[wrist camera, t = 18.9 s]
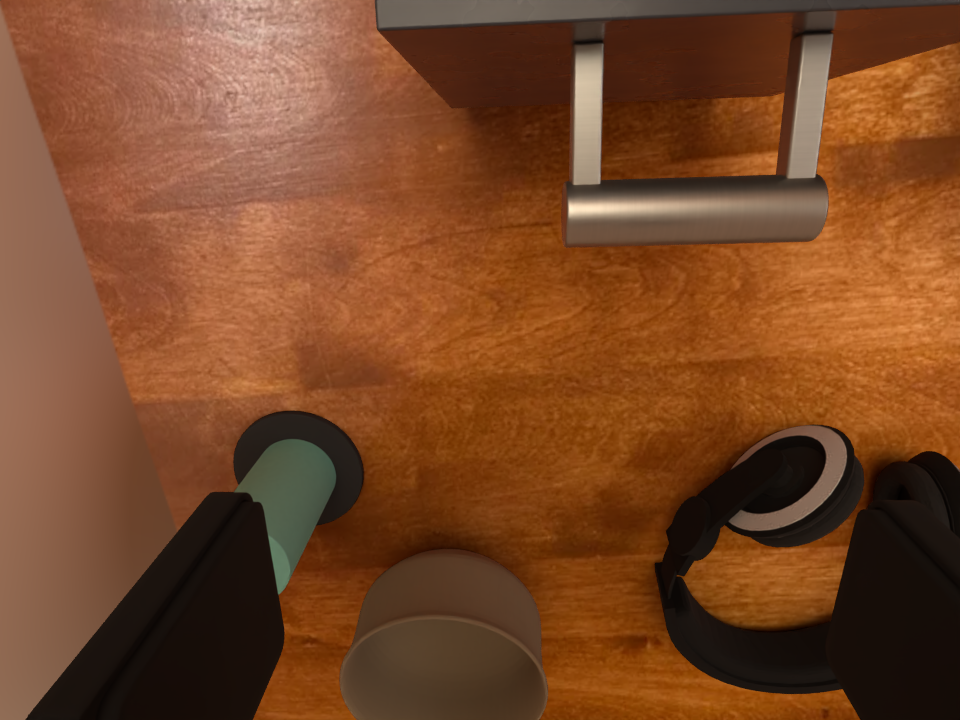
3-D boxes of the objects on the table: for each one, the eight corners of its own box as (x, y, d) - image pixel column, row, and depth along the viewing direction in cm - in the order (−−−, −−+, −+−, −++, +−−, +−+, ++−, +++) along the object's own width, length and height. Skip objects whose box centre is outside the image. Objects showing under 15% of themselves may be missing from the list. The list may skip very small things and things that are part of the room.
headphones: (1088, 531, 32) (881, 745, 41) (990, 444, 39) (832, 644, 48) (766, 449, 31) (629, 685, 41) (725, 375, 38) (616, 591, 48)
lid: (373, -16, 12) (393, 264, 13) (1127, -53, 11) (1054, 249, 13) (450, 88, 27) (455, 215, 28) (774, 76, 26) (760, 206, 27)
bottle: (253, 494, 43) (168, 617, 32) (265, 429, 41) (178, 537, 30) (328, 514, 43) (268, 642, 33) (343, 450, 41) (284, 564, 31)
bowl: (377, 642, 48) (345, 766, 39) (367, 506, 44) (328, 610, 34) (537, 649, 48) (543, 777, 38) (544, 512, 43) (553, 619, 34)
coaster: (228, 503, 44) (225, 507, 44) (245, 394, 41) (242, 398, 40) (349, 535, 45) (347, 540, 44) (376, 431, 41) (374, 434, 41)
